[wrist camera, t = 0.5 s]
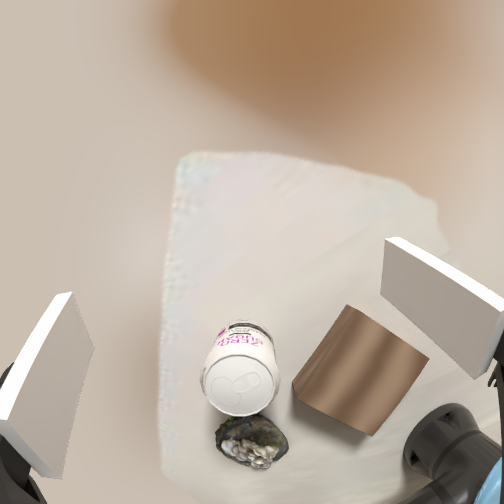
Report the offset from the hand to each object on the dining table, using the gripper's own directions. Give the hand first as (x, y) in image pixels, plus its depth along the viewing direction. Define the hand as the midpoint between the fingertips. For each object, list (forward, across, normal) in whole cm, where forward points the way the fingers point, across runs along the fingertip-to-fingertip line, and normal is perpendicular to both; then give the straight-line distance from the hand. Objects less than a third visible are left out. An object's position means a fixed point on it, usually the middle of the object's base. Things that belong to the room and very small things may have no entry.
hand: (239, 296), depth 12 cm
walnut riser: (+19, -18, +27) cm, 38 cm away
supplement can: (+25, -3, +22) cm, 33 cm away
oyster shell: (+19, -1, +38) cm, 42 cm away
